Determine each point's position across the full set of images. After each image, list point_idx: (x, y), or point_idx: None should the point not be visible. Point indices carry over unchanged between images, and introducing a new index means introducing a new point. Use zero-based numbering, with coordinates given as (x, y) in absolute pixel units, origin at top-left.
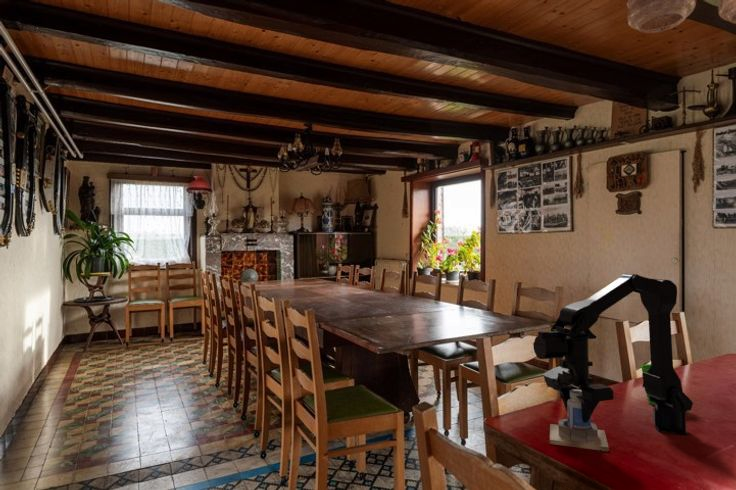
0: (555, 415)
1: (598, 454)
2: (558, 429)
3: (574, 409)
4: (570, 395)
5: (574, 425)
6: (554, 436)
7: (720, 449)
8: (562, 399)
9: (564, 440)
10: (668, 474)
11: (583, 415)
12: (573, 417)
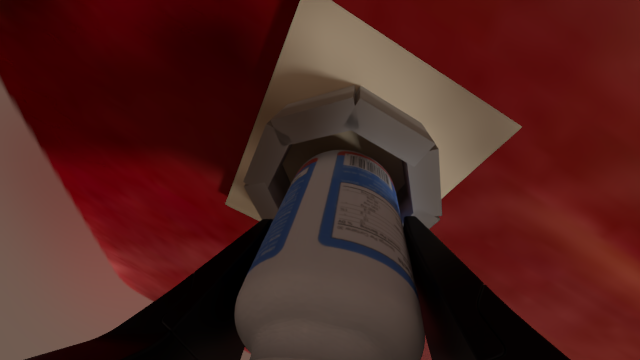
0: (624, 228)
1: (207, 154)
2: (429, 127)
3: (273, 246)
4: None
5: (304, 173)
6: (345, 46)
7: None
8: (495, 297)
9: (289, 77)
10: (124, 233)
11: (236, 245)
12: (298, 199)
